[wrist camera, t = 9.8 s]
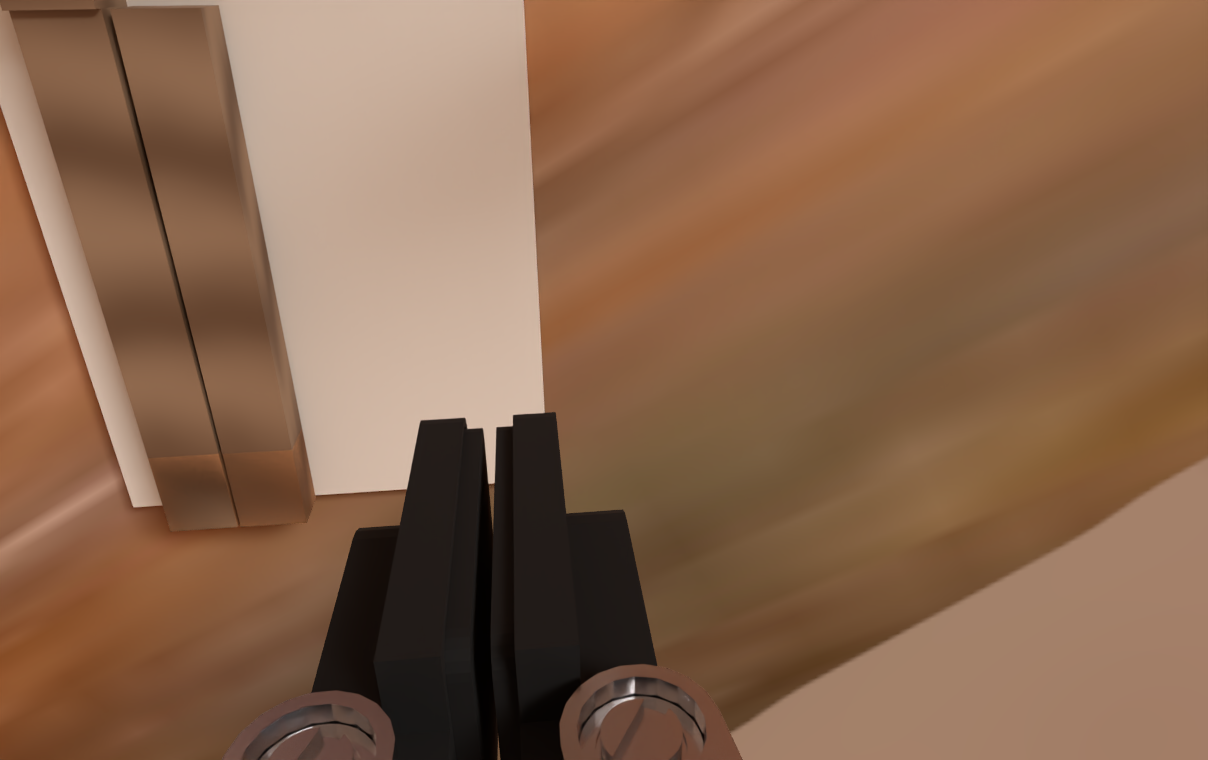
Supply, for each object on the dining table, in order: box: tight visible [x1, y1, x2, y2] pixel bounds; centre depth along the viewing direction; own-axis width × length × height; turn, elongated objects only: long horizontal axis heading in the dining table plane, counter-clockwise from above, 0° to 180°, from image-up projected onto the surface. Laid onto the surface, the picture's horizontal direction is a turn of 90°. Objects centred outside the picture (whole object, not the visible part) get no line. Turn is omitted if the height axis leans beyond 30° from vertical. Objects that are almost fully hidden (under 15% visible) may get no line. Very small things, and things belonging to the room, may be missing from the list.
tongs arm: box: [110, 5, 316, 527], centre depth 34 cm, size 22×3×2 cm, turn 0°
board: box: [0, 0, 544, 507], centre depth 35 cm, size 27×20×1 cm
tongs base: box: [0, 0, 240, 532], centre depth 33 cm, size 26×3×3 cm, turn 1°
